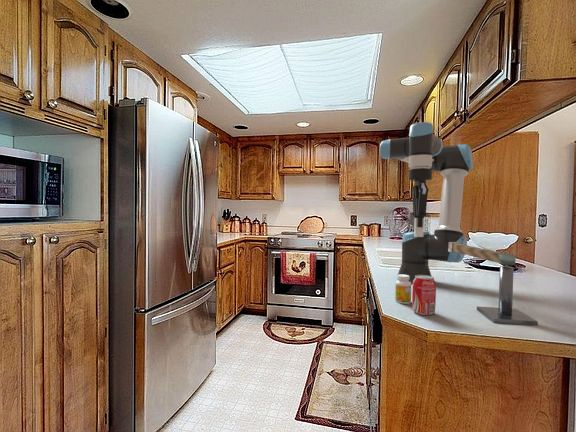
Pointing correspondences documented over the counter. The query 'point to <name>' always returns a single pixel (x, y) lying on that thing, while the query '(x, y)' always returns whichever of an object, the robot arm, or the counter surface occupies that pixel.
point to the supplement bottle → (403, 289)
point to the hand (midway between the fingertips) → (418, 236)
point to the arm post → (506, 303)
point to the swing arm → (482, 253)
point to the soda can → (424, 295)
